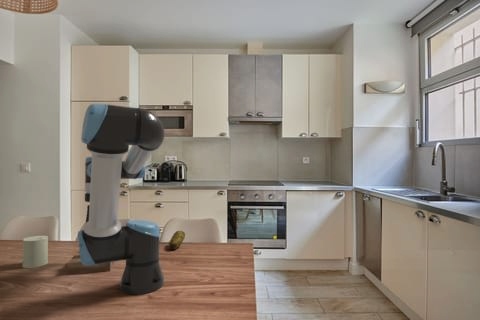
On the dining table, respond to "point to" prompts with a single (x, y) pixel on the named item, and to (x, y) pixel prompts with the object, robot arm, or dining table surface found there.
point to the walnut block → (77, 267)
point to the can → (35, 251)
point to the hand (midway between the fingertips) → (93, 241)
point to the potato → (176, 239)
